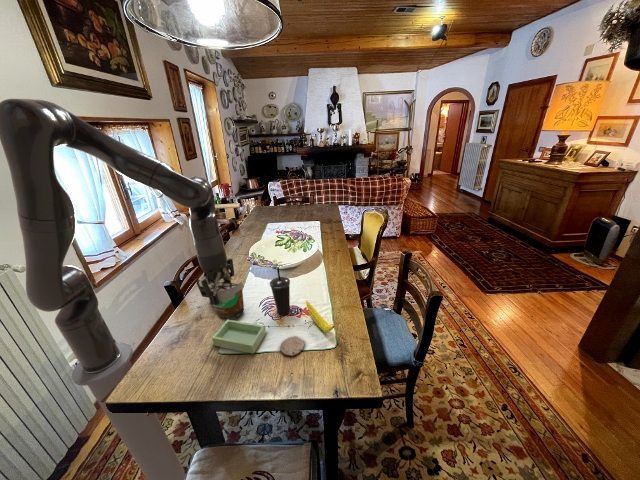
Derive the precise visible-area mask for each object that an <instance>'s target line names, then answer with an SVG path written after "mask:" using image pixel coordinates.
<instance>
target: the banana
mask: <svg viewBox="0 0 640 480" xmlns="http://www.w3.org/2000/svg"><path fill="white" fill-rule="evenodd" d="M305 305H306V309H307V311H308V313H309V315H310V316H311V318H312V320H313V321H314V322H315V324H316V325H317V326H318V327H319V328H320V329H321V330H322V331H324V332H330V331H332V330H334V328H335V327H336V326H335V325H333V324H330V323H329V322H327V321H326V320H325V319H324V318H323V317H322V315H320V312H318V311H317V309H316V308H315V307H314V306H313V305H312V304H311V302H309V301H308V300H305Z"/></svg>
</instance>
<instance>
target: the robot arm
mask: <svg viewBox="0 0 640 480" xmlns="http://www.w3.org/2000/svg"><path fill="white" fill-rule="evenodd" d="M0 143H1V146H2V149H3V153H4V156H5V159H6V162H7V166H8V168H9V172H10V173H9V174H10V177H11V184H12V187H13V191H14V196H15V201H16V212H17V218H18V223H19V228H20V233H21V236H22V242H23V243H22V244H23V250H24V251H23V253H24V259H25V292H26V297H27V299H28V301H29V302H30V304H31V305H32V306H33V307H35V308H36V309H37V310H40V311H42V312H46V313H49V312H56V311H58V313H57V314H56V316H55V318H54V324H55V325H56V327H57V329H58V330H59V332H60V333H61V335H62V337H63V338H64V340H65V342H66V343H67V345H68V347H69V348H70V350H71V352H72V353H73V354H74V357H75V358H76V360H77V361H78V363H80V364H81V366H82V368H83V370H84V372H85V373H87V374H95V373H99V372H101V371H104V370H106V369H107V368H109V367H111V366H112V365H113V364H114V363H116V362H117V360H118V359H119V358H120V356H121V351H120V350H119V348H118V346H117V345H116V343H118V342H117V341H116V339H115V338H114V337H113V334H112V332H111V331H110V329H109V327H108V325H107V322H106V321H105V319H104V316H103V315H102V314H101V311H100V310H99V300H98V297H97V295H96V293H95V290H94V287H93V285H92V283H91V280H90V279H89V278H88V277H89V276H87V274H86V273H85V272H84V271H83V270H82V269H80V268H78V267H76V266H73V265H64V262H65V258H66V257H67V254H68V252H69V250H70V248H71V246H72V244H73V241H74V239H75V235H76V232H77V217H76V209H75V204H74V202H73V199H72V198H71V196H70V195H69V193H68V192H67V191H66V189H65V188H64V187H63V185H61V183H60V181H59V180H58V177H57V173H56V169H55V159H54V150H55V148H59V147H65V148H70V149H73V150H76V151H79V152H83V153H85V154H88V155H90V156H93V158H96V159H98V160H100V161H101V162H103V163H104V164H105V165H107V166H108V167H110V168H111V169H112V170H114V171H115V172H117V173H118V174H120V175H122V176H123V177H125V178H127V180H128V179H129V180H131V181H133V182H135V183H136V184H140V185H141V186H142V185H143V186H144V187H147V188H149V189H152V190H153V191H157V192H159V193H160V194H162V195H163V196H165V197H166V198H168V199H169V200H172V201H173V202H175V203H177V204H178V205H180V206H183V207H186V208H188V209H189V214H190V215H189V221H188V222H189V223H188V224H189V229H190V231H191V236H192V240H193V246H194V251H195V253H196V257H197V260H198V261H197V262H198V264H199V267H200V268H201V269H202V271H203V277H201V279H199V278H198V279H197V280H196V281H195V283H196V285H197V289H198V291H199V292H200V295H201V297H203V298H208V300H209V303H210V305H212V306H213V305H218V304H219V301H218V297H217V294H216V291H217V287H218V286H219V282H220V281H221V280H222V282H228V283H232V279H233V278H232V277H234V276H235V268H234V261H233V259H232V258H228V256H227V251H226V248H225V244H224V240H223V236H222V234H221V230H220V226H219V222H218V219H217V214H216V203H215V196H214V195H215V194H214V191H213V187H212V185H211V183H210V182H209V181H208V180H207V179H206V178H205V177H201V176H192V177H189V178H188V177H186V176H184V175H183V174H180V173H179V172H177V171H175V168H173V167H172V166H171V165H170V164H168V163H166V162H164V161H161V160H159V159H157V158H155V157H153V156H151V155H149V154H146V153H144V152H142V151H140V150H137V149H135V148H133V147H132V146H130V145H128V144H125V143H123V142H121V141H119V140H117V139H115V138H113V137H112V136H110V135H108V134H106V133H104V132H103V131H101V130H99V129H98V128H97V127H94V126H93V125H91V124H89V123H88V122H87V121H84V120H83V119H82V118H80V117H78V116H77V115H75V114H73V113H72V112H70V111H69V110H67V109H65V108H63V107H62V106H60V105H58V104H56V103H54V102H51V101H49V100H44V99H32V98H7V99H4V100H2V101H0ZM210 282H213V283H215V284H211V283H210ZM211 287H212V288H213V291H211Z"/></svg>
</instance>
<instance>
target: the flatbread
mask: <svg viewBox="0 0 640 480" xmlns="http://www.w3.org/2000/svg"><path fill="white" fill-rule="evenodd" d="M304 347H305V340H304V339H302V338H301V337H299V336H296V335H295V336H294V335H293V336H289V337H286V338H285V339H284V340H282V342H281V343H280V345H279V349H280V351H281V353H282V354H283V355H285V356H290V357H293V356H295V355H297V354H299V353H300V352H301V351H303V349H304Z"/></svg>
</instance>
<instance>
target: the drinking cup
mask: <svg viewBox="0 0 640 480" xmlns="http://www.w3.org/2000/svg"><path fill="white" fill-rule="evenodd" d="M276 271H277V277H275V278H273V279H271V280H270V281H269V287H270V289H271V293H272V296H273V300H274V304H275V307H276V311H277V314H278V315H280V316H286V315H287V314H289V313H290V312H291V311H290V309H291V308H290V307H291V306H290V304H291V303H290V301H291V300H290V299H291V298H290V297H291V295H290V294H291V293H290V292H291V291H290V288H291V287H290V284H291V280H290V278H289V277H287V276H281V273H280V267H279V266H278V267H276Z"/></svg>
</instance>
